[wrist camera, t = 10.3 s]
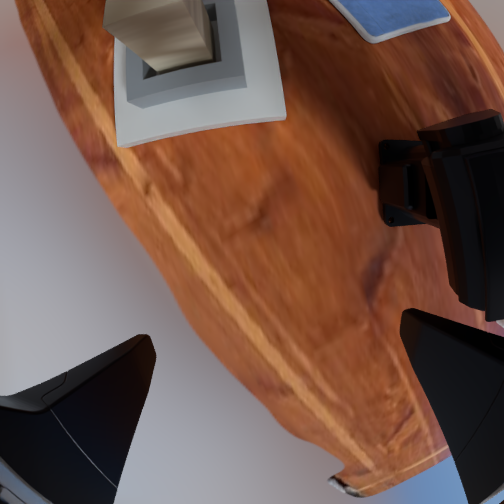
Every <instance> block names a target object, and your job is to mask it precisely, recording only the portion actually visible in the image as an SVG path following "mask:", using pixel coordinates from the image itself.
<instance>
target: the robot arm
mask: <svg viewBox="0 0 504 504" xmlns="http://www.w3.org/2000/svg"><path fill="white" fill-rule="evenodd" d="M417 134H418V136H419V139H420V140H422V141H410V140H382V141H381V142H380V143H379V154H380V164H381V165H380V166H379V168H378V170H379V183H380V200H381V201H382V202H383V215H384V223H385V224H386V225H387V226H390V227H394V226H405V225H417V224H429V225H432V226H434V227H437V228H439V229H440V232H441V237H442V242H443V247H444V252H445V258H446V264H447V271H448V278H449V284H450V286H451V288H452V289H453V290H454V292H455V293H456V294H457V295H458V298H459V301H460V302H461V303H463V304H465V305H466V306H468V307H471V308H474V309H477V310H481V311H485V320H486V321H487V322H491V321H497V320H503V319H504V122H503V119H502V116H501V113H500V112H497V111H495V110H492V109H489V110H484V111H479V112H475V113H470V114H466V115H462V116H459V117H456V118H453V119H450V120H447V121H444V122H441V123H438V124H435V125H432V126H429V127H426V128H423V129H420V130H417ZM384 144H386V145H387V150H386V149H385V148H384ZM390 217H392V221H391V222H390V223H389V218H390ZM400 337H401V339H402V342H403V344H404V347H405V349H406V352H407V355H408V357H409V360H410V363H411V365H412V368H413V370H414V372H415V374H416V376H417V378H418V380H419V382H420V384H421V386H422V388H423V390H424V392H425V394H426V396H427V398H428V400H429V403H430V405H431V407H432V409H433V411H434V413H435V416H436V418H437V420H438V422H439V425H440V427H441V429H442V432H443V434H444V436H445V439H446V441H447V444H448V446H449V449H450V451H451V454H452V456H453V459H454V461H455V465H456V468H457V470H458V473H459V476H460V479H461V482H462V485H463V488H464V491H465V494H466V497H467V500H468V504H483V503H485V502H486V501H488V500H489V499H491V498H492V497H494V496H495V495H497V494H498V493H500V492H501V491H502V490H504V337H502V336H499V335H495V334H492V333H487V332H486V331H483V330H480V329H477V328H474V327H470V326H467V325H464V324H461V323H458V322H455V321H452V320H449V319H446V318H443V317H440V316H437V315H434V314H430V313H427V312H424V311H421V310H418V309H415V308H410V309H405V310H404V311H403V312H402V317H401V324H400ZM155 362H156V352H155V349H154V346H153V343H152V340H151V338H150V336H149V335H147V334H138V335H136V336H134V337H132V338H130V339H129V340H127V341H125V342H123V343H121V344H119V345H117V346H115V347H113V348H112V349H109V350H107V351H106V352H104V353H102V354H100V355H98V356H96V357H94V358H92V359H90V360H88V361H86V362H84V363H82V364H80V365H78V366H76V367H74V368H72V369H70V370H69V371H68V372H64V373H62V374H60V375H58V376H56V377H54V378H52V379H50V380H47V381H45V382H43V383H41V384H38V385H36V386H33V387H31V388H28V389H26V390H23V391H21V392H18V393H16V394H13V395H9V396H0V504H113V503H114V500H115V496H116V492H117V488H118V484H119V481H120V478H121V474H122V471H123V468H124V465H125V461H126V458H127V455H128V452H129V449H130V445H131V442H132V439H133V436H134V433H135V430H136V427H137V424H138V421H139V418H140V415H141V412H142V409H143V406H144V404H145V400H146V398H147V394H148V392H149V387H150V384H151V379H152V374H153V370H154V366H155ZM499 504H504V500H503V501H502V502H501V503H499Z"/></svg>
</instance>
